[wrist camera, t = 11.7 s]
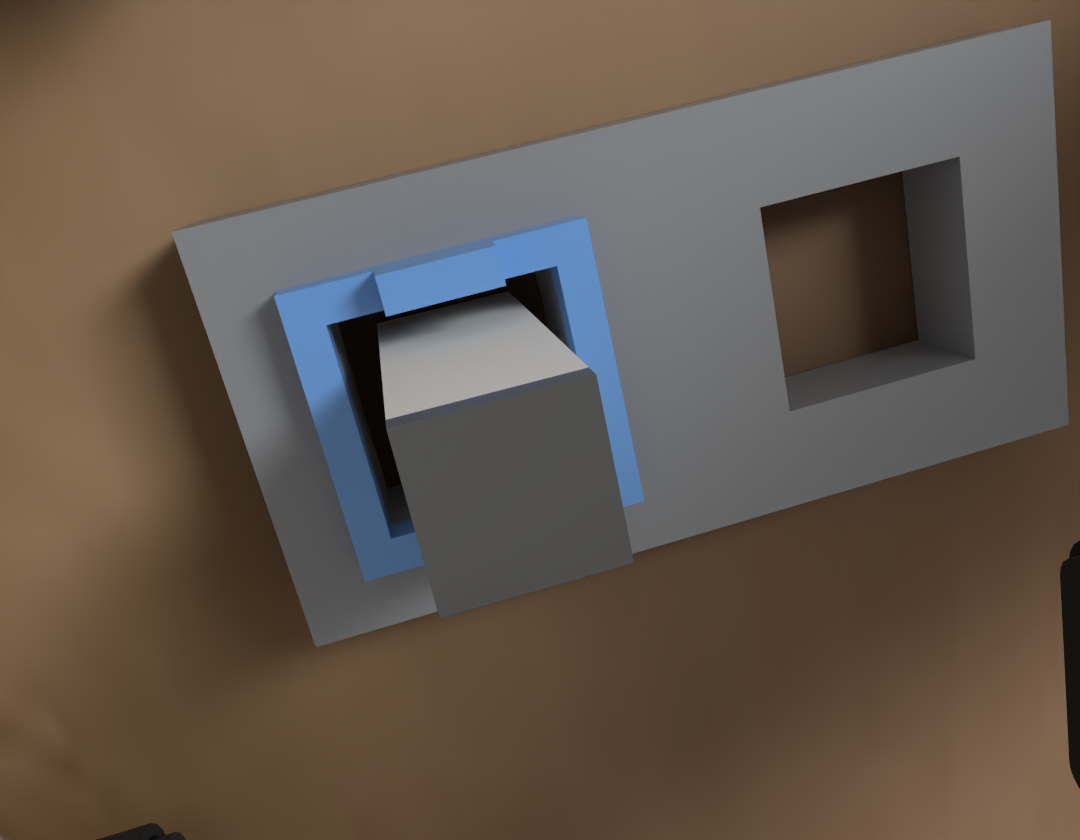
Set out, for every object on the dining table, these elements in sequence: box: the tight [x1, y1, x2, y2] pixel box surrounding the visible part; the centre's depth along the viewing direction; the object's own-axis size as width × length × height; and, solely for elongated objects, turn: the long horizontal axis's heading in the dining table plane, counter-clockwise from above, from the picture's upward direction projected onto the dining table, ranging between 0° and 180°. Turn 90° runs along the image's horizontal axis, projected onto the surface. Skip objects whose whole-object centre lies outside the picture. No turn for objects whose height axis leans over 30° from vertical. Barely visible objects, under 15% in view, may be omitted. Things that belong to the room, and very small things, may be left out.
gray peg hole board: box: [172, 20, 1069, 647], centre depth 26 cm, size 24×12×5 cm, turn 103°
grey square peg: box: [377, 291, 634, 618], centre depth 23 cm, size 4×4×11 cm
